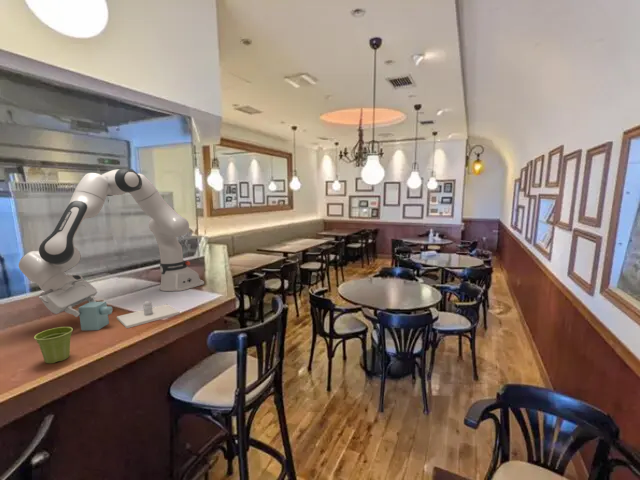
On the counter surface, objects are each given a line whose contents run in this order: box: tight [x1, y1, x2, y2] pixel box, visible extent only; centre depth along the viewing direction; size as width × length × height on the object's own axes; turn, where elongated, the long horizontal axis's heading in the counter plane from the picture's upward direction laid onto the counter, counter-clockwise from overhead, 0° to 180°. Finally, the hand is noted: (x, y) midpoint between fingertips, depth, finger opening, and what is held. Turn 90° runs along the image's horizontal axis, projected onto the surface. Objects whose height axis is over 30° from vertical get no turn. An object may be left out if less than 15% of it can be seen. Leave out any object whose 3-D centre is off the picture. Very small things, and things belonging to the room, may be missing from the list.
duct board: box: [116, 300, 181, 329], centre depth 138 cm, size 20×14×7 cm
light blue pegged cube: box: [77, 301, 113, 331], centre depth 128 cm, size 6×10×9 cm
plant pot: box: [33, 326, 74, 364], centre depth 103 cm, size 9×9×9 cm
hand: (88, 310), depth 128 cm, fingers open, 8 cm apart
